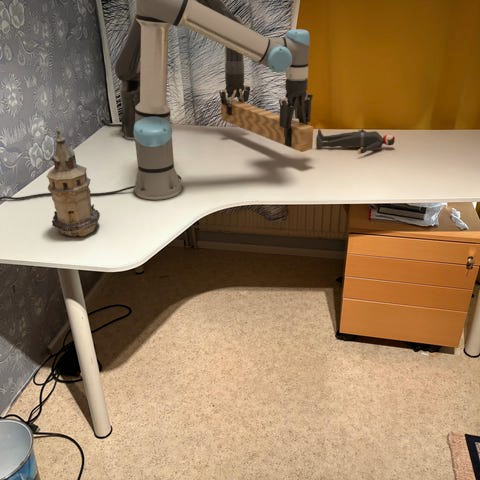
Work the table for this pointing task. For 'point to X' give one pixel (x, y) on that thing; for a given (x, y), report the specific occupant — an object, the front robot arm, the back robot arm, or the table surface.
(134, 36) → the back robot arm
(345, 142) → the toy
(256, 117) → the post
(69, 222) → the miniature building
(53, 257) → the table surface
